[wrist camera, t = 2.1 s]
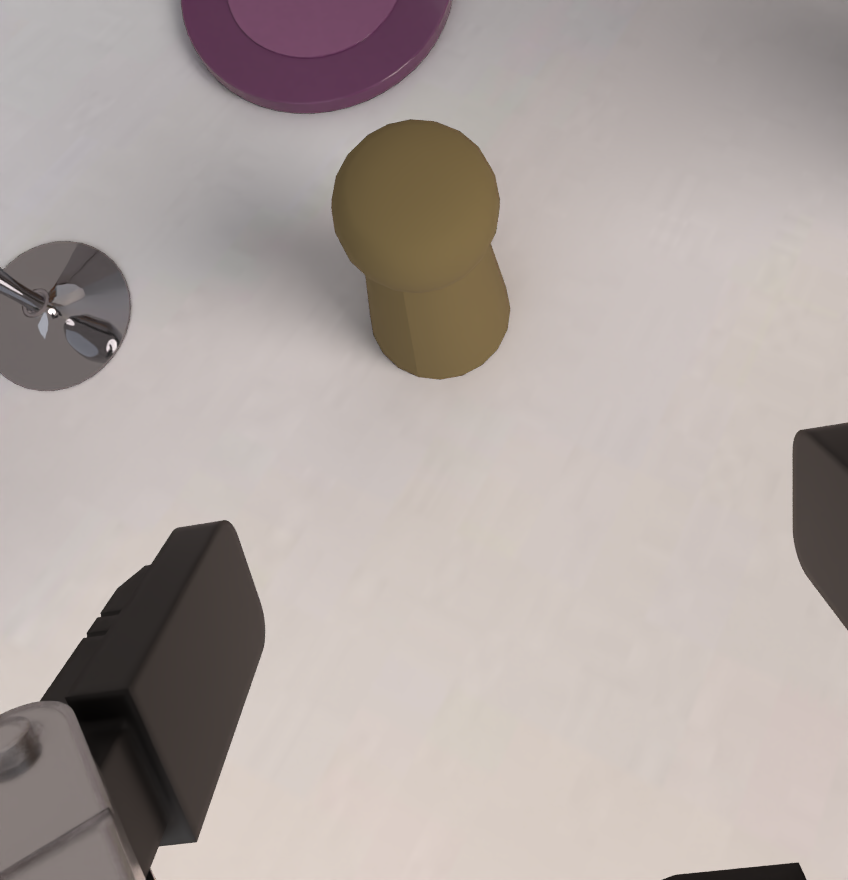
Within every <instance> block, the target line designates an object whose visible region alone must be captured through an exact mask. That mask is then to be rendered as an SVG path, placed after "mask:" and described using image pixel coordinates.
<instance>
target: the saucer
mask: <svg viewBox="0 0 848 880" xmlns="http://www.w3.org/2000/svg"><path fill="white" fill-rule="evenodd" d="M451 4H452V0H181V7H182V14H183V20H184V23H185V27H186V30H187V33H188V36H189V38H190V40H191V42H192V44H193V46H194V48H195V50H196V52H197V54H198V55H199V57H200V59H201V60H202V62H203V63H204V64H205V66H206V67H207V69H208V70H209V71H210V72H211V73H212V75H213V76H214V77H215V78H216V79H217V80H218V81H219V82H220V83H221V84H223V85H224V86H225V87H226V88H228V89H229V90H230V91H231V92H233V93H235V94H237V95H238V96H240V97H242V98H243V99H245V100H247V101H250V102H252V103H254V104H257V105H259V106H262V107H265V108H269V109H273V110H277V111H283V112H290V113H321V112H330V111H335V110H339V109H344V108H348V107H351V106H354V105H357V104H360V103H362V102H365V101H368V100H370V99H372V98H374V97H376V96H378V95H380V94H382V93H384V92H385V91H387V90H388V89H390V88H391V87H393V86H394V85H396V84H397V83H399V82H400V81H401V80H402V79H404V78H405V77H406V76H407V75H408V74H410V73H411V72H412V71H413V70H414V69H415V68H416V67H417V66H418V65H419V64H420V63H421V61H422V60H423V59H424V58H425V57H426V56H427V54H428V53H429V51H430V50H431V49H432V47H433V46H434V45H435V43H436V41H437V39H438V38H439V36H440V34H441V32H442V30H443V28H444V26H445V23H446V21H447V18H448V15H449V13H450V9H451Z"/></svg>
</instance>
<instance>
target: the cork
mask: <svg viewBox="0 0 848 880" xmlns="http://www.w3.org/2000/svg"><path fill="white" fill-rule="evenodd" d="M499 207H500V198H499V193H498V188H497V183H496V178H495V174H494V172H493V171H492V169H491V167H490V165H489V164H488V162H487V160H486V159H485V157H484V155H483V154H482V152H481V150H480V149H479V147H478V146H477V145H476V144H475V143H473V142H472V141H471V140H470V139H469V138H467V137H466V136H465V135H464V134H463V133H461V132H460V131H458V130H455V129H453V128H450V127H448V126H445V125H443V124H440V123H438V122H434V121H423V120H411V119H410V120H406V121H401V122H396V123H391V124H388V125H386V126H384V127H382V128H380V129H378V130H376V131H374V132H373V133H371V134H369V135H367V136H366V137H365V138H364V139H363V140H362V141H361V142H360V143H359V144H358V145H357V146H356V147H355V148H354V149H353V150H352V151H351V152H350V153H349V154H348V155H347V157H346V159H345V161H344V162H343V164H342V166H341V168H340V170H339V172H338V173H337V175H336V179H335V184H334V190H333V195H332V206H331V209H332V216H333V222H334V229H335V233H336V235H337V237H338V239H339V241H340V243H341V245H342V246H343V248H344V250H345V252H346V254H347V256H348V258H349V260H350V261H351V262H352V263H353V264H354V265H355V266H356V267H357V268H358V269H359V270H360V271H361V272H363V273H364V274H365V276H366V285H367V293H368V301H369V309H370V317H371V323H372V329H373V335H374V337H375V339H376V341H377V343H378V344H379V346H380V348H381V350H382V352H383V354H385V355H386V356H387V357H388V358H389V359H390V360H391V361H392V362H393V363H394V364H395V365H396V366H397V367H398V368H400V369H402V370H405V371H407V372H409V373H411V374H413V375H415V376H418V377H424V378H432V379H445V378H451V377H456V376H462V375H464V374H466V373H468V372H470V371H471V370H473V369H475V368H477V367H479V366H481V365H482V364H483V363H484V362H485V361H486V360H487V359H488V358H489V357H490V356H491V355H492V354H493V353H494V352H495V351H496V350H497V349H498V347H499V345H500V343H501V341H502V339H503V337H504V335H505V333H506V331H507V328H508V321H509V314H510V305H509V300H508V295H507V290H506V286H505V283H504V280H503V278H502V275H501V272H500V269H499V266H498V263H497V260H496V257H495V255H494V252H493V249H492V246H491V241H492V239H493V237H494V236H495V234H496V229H497V222H498V215H499Z"/></svg>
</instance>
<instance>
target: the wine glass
mask: <svg viewBox="0 0 848 880" xmlns="http://www.w3.org/2000/svg"><path fill="white" fill-rule="evenodd" d="M130 310H131V303H130V293H129V290H128V286H127V282H126V280H125V278H124V276H123V274H122V272H121V270H120V269H119V268H118V266H117V265H116V264H115V263H114V261H113V260H111V259H110V258H109V257H108V256H107V255H106V254H105V253H103V252H101V251H100V250H98V249H96V248H94V247H92V246H89V245H86V244H83V243H77V242H70V241H66V242H53V243H48V244H43V245H40V246H38V247H35V248H32V249H30V250H29V251H27V252H25V253H23V254H21V255H20V256H18V257H17V258H16V259H15V260H13V261H12V262H11V263H9V264H8V266H7V267H6V268H5V269H4V270H3V269H2V268H1V267H0V373H1V374H2V375H3V376H4V377H6V378H7V379H9V380H10V381H12V382H13V383H15V384H17V385H20V386H22V387H25V388H27V389H33V390H38V391H55V390H60V389H66V388H69V387H72V386H74V385H77V384H80V383H82V382H83V381H85V380H87V379H89V378H91V377H92V376H93V375H95V374H96V373H97V372H98V371H100V370H101V369H102V368H103V367H104V366H105V365H106V364H107V363H108V362H109V361H110V360H111V359H112V358H113V356H114V355H115V353H116V352H117V350H118V349H119V347H120V345H121V343H122V341H123V339H124V337H125V334H126V331H127V328H128V324H129V320H130Z"/></svg>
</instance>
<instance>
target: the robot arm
mask: <svg viewBox="0 0 848 880" xmlns="http://www.w3.org/2000/svg"><path fill="white" fill-rule="evenodd" d="M793 538H794V544H795V549H796V552H797V556H798V559H799V562H800V564H801V566H802V569H803V570H804V572H805V574H806V575H807V577H808V578H809V580H810V581H811V582H812V584H813V585H814V586H815V588H816V589H817V590H818V592H819V593H820V594H821V596H822V597H823V598H824V599H825V601H826V602H827V603H828V605H829V606H830V607H831V609H832V610H833V611H834V613H835V614H836V615H837V617H838V618H839V619H840V621H841V622H842V623H843V625H844V626H845V627H846V629H847V630H848V423H842V424H836V425H830V426H823V427H817V428H811V429H804V430H800V431H798V432H797V434H796V436H795V438H794V442H793ZM264 642H265V621H264V614H263V610H262V606H261V603H260V600H259V597H258V594H257V591H256V588H255V585H254V582H253V579H252V576H251V573H250V570H249V567H248V564H247V561H246V558H245V555H244V552H243V550H242V547H241V544H240V541H239V538H238V535H237V532H236V530H235V528H234V527H233V525H232V524H231V523H230V522H229V521H226V520H223V521H217V522H211V523H204V524H198V525H192V526H185V527H179V528H176V529H175V530H174V531H173V532H172V533H171V535H170V536H169V538H168V539H167V541H166V542H165V544H164V545H163V547H162V548H161V550H160V552H159V553H158V555H157V556H156V558H155V559H154V561H153V562H152V564H151V565H147V566H144V567H143V568H142V569H141V570H139V571H138V572H137V573H136V574H134V575H133V576H132V577H131V578H130V579H128V580H127V581H126V582H125V583H124V584H122V585H121V586H120V587H119V588H117V590H116V591H115V593H114V594H113V596H112V597H111V599H110V600H109V601H108V603H107V604H106V606H105V607H104V609H103V610H102V612H101V617H98V618H97V619H96V620H95V622H94V623H93V625H92V626H91V628H90V629H89V630H88V632H87V638H83V639H82V641H81V642H80V643H79V645H78V646H77V648H76V649H75V651H74V652H73V654H72V655H71V657H70V658H69V659H68V661H67V662H66V664H65V665H64V667H63V668H62V670H61V671H60V672H59V674H58V675H57V677H56V678H55V680H54V681H53V683H52V684H51V686H50V687H49V688H48V690H47V691H46V693H45V694H44V696H43V697H42V699H41V700H40V702H34V703H30V704H26V705H22V706H20V707H17V708H14V709H11V710H9V711H7V712H5V713H3V714H1V715H0V880H156V878H155V876H154V874H153V872H152V870H151V868H150V867H151V865H152V862H153V859H154V857H155V854H156V852H157V849H158V847H159V846H166V845H175V844H184V843H193V842H197V840H198V837H199V834H200V831H201V828H202V825H203V822H204V820H205V817H206V814H207V811H208V808H209V805H210V802H211V799H212V796H213V793H214V791H215V788H216V785H217V782H218V779H219V776H220V773H221V770H222V767H223V764H224V762H225V759H226V756H227V753H228V750H229V747H230V744H231V741H232V738H233V735H234V732H235V730H236V727H237V724H238V721H239V718H240V715H241V712H242V709H243V706H244V703H245V701H246V698H247V695H248V692H249V689H250V686H251V683H252V680H253V677H254V674H255V672H256V669H257V666H258V663H259V660H260V657H261V654H262V651H263V648H264ZM663 880H806V878H805V875H804V873H803V871H802V869H801V867H800V864H799V863H789V864H779V865H769V866H759V867H749V868H739V869H729V870H719V871H709V872H699V873H689V874H679V875H674V876H671V877H668V878H666V879H663Z"/></svg>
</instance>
